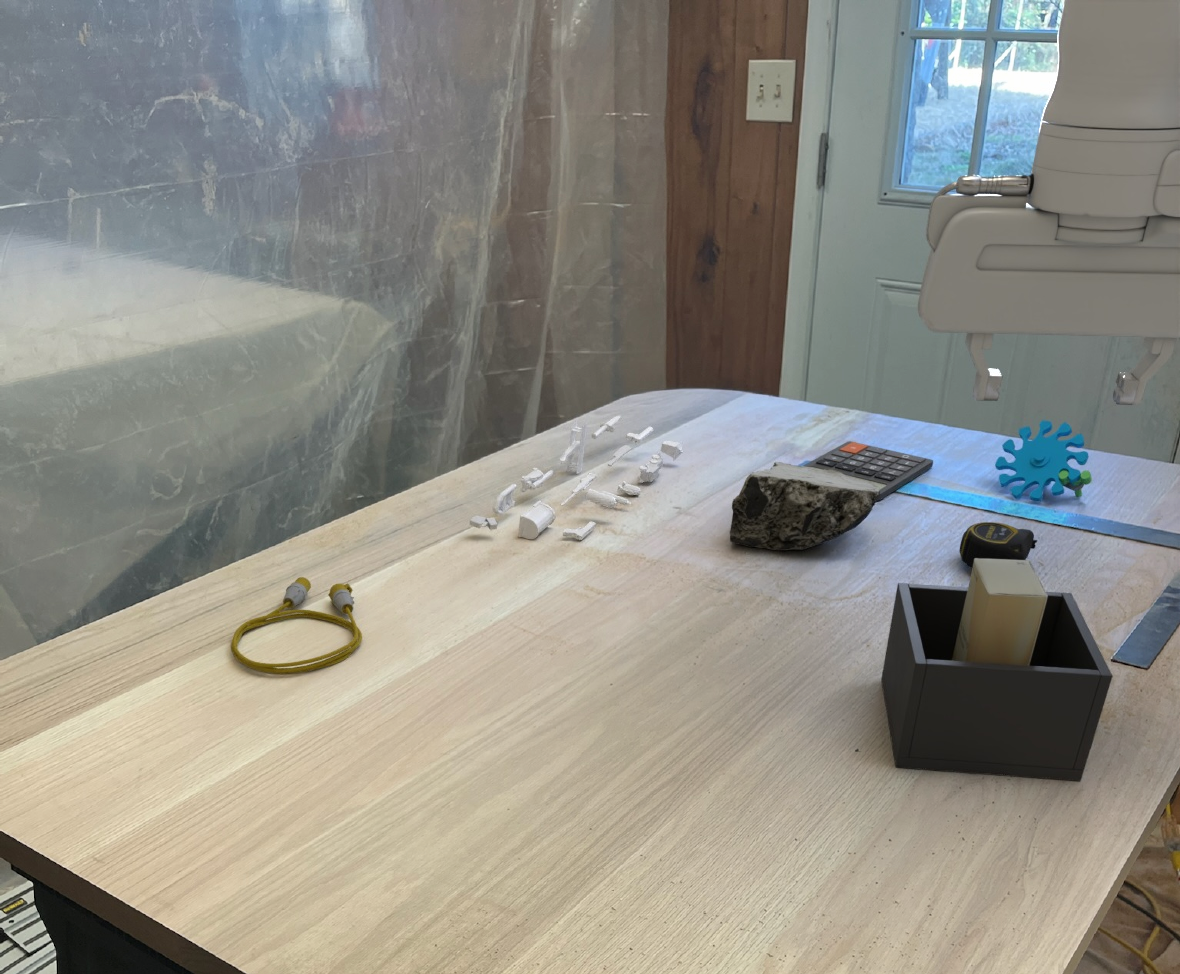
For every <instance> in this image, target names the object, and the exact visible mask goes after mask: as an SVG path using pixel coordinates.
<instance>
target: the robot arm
mask: <svg viewBox="0 0 1180 974" xmlns="http://www.w3.org/2000/svg"><path fill="white" fill-rule="evenodd" d="M1056 42H1057V53H1058V55H1057V56H1058V64H1057V72H1056V77H1055V82H1054V85H1053V88H1052V92H1051V93H1050V95H1049V98H1048V100H1047V102H1046V105H1045V107H1044V109H1043V111H1042V115H1041V121H1040V124H1039V125H1040V126H1039V132H1038V137H1037V141H1036V142H1037V143H1036V148H1035V153H1034V158H1033V162H1032V167H1031V174H1029V175H1026V174H1019V175H1018V174H1017V175H1013V174H1010V175H1009V174H1008V175H1007V174H1006V175H1005V174H1004V175H997V176H995V175H994V176H981V175H979V174H967V175H961V176H959V177H958V178H957V181H954V182H951V183H949V184H947V185H944V187H942V188H940V190H939V191H937V193H936V194H935V195H934V197H933V199H932V200H931V203H930V205H929V209H928V216H927V221H926V222H927V223H926V230H925V234H926V235H925V237H926V241H927V244H928V246H929V247H930V252H929V256H928V259H927V262H926V265H925V269H924V273H923V276H922V282H921V286H920V290H919V295H918V300H917V301H918V302H917V312H918V317H919V318H920V320H921V321H922V323H923V324H924V325H925V327H926V328H927V329H928V330H929V331H930V332H932V333H940V334H941V333H947V334H966V335H965V340H964V341H965V342H964V343H965V346H966V348H967V351H968V353H969V356H970V358H971V361H972V363H973V366H974V369H975V370H976V373H975V378H974V383H973V390H972V394H973V395H972V397H973V398H974V400H975V401H977V402H978V401H979V402H985V401H986V402H998V400H999V397H1000V395H1001V394H1000V391H999V389H1000V388H1001V387H1002V384H1003V377H1004V376H1003V374H1002V373H1001V371H1000V369H999V368H997V369H996V368H989V366H988V363H987V361H986V359H985V356H984V353H983V351H990V350H991V349H992V345H993V341H994V335H1029V336H1030V335H1031V336H1073V337H1074V336H1077V337H1115V338H1117V337H1118V338H1119V337H1120V338H1143V341H1142V346H1143V347H1144V348H1145V349H1146V350H1147V351H1146V353H1145V354H1144V355H1143V356H1142V358H1140V360H1139V361H1138V363H1137V364H1136V365H1135V366H1134V367H1133V369H1132V370H1131V371H1130V372H1118V373H1117V377H1116V380H1115V383H1116V387H1115V388H1114V389H1113V393H1112V400H1113V402H1115V404H1116V405H1118V406H1121V405H1122V406H1140V405H1141V404H1142V401H1143V398H1144V394H1145V391H1146V387H1147V383H1148V381H1150V380H1151V379H1152V378H1153V377H1154V376H1155V375H1156V374H1157V373H1158V372H1159V370H1160V369H1162V367H1163V366H1164V364H1166V363H1167V361H1168V360H1169V359H1170V358H1171V357H1172V356H1173V353H1174V351H1175V346H1176V343H1177V339H1180V0H1064V1H1063V5H1062V11H1061V17H1060V21H1059V27H1058V32H1057V41H1056ZM954 190H956V191H955V192H956V193H955V194H954V193H949V192H951V191H954Z"/></svg>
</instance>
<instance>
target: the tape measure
mask: <svg viewBox="0 0 1180 974" xmlns="http://www.w3.org/2000/svg"><path fill="white" fill-rule="evenodd" d="M1037 542H1038V540H1037V539H1035V533H1034V532H1033V531H1032V530H1030V529H1026V528H1017V527H1014V526H1012V525H1009V524H1007V523H1002V522H996V521H995V522H994V521H984V522H977V523H974V524H972V525H970V526H969V527H967V529H966V530H965V531H964V532H963V534H962V537H961V540H960V544H959V550H958V553H959V555H960V560H961V561H962V563H964V564H965V565H966V566H967V567H969V568H970V569H972V568H973V563H974V559H975V558H980V559H981V558H982V559H1007V560H1028V559H1027V558H1028V556H1029V555H1030V552H1031V550H1035V548H1036V543H1037Z"/></svg>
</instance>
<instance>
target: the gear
mask: <svg viewBox="0 0 1180 974" xmlns="http://www.w3.org/2000/svg"><path fill="white" fill-rule="evenodd" d="M1052 430H1053V423H1052V422H1051V421H1049V420H1041V421H1040V422H1039V430H1038V433H1037V434H1036V436H1035V437H1034V439H1032V440H1030V439H1029V438H1030V437H1031V436H1032V430H1031V427H1030V426H1028V425H1027V426H1023V427H1021V428H1019V429H1018V435H1019V438H1020V439H1021V440H1022V446H1021V448H1019V449H1015V448H1016V445H1015V441H1014V440H1013V439H1011V438H1009V439H1007V440H1006V441H1005V442H1003V443H1002V444H1001V446H1002V450H1003V452H1004V453H1007V454H1010V455H1012V456H1013V457H1014V460H1013V461H1012V462H1008V460H1007V459H1006V457H1004V456H998V457H997V459H996V461H995V464H994V466H995V469H996V470H997V471H1003V470H1010V471H1013V472H1015V473H1014V474H1012V475H1010V474H1007V473H1000V474H999V475H998V481H999V484H1000V487H1001V488H1006V487H1007V486H1009V485H1010V484H1012V483H1015V482H1024V483H1022V484H1020V485H1013V486H1012V487H1011V488H1010V489H1009V490H1010V493H1011V495H1012V497H1013V498H1014V499H1016V500H1019V499H1021V498H1022V497H1023V495H1024V493H1025V492H1026V491H1027V490H1028V489H1030V488H1031V487H1033V486H1036V485H1037V487H1036V488H1035V489H1032V490H1031V491H1030V493H1029V498H1030V500H1031V501H1033V502H1037V503H1038V502H1040V503H1041V501H1042V500H1043V498H1044V496H1043V495H1044V493H1043V492H1044V490H1045V488H1046V487H1048V486H1051V484H1052V482H1054V483H1053V485H1052V486H1051V488H1050V492H1051V495H1052V496H1053V497H1058V496H1061V495H1064V494H1065V489H1066V488H1067V489H1069V490H1071V491H1074V495H1075V497H1076V498H1081V497H1082V496H1083V490H1082V489H1083V488H1084V486H1085V485H1090V484H1091V483H1092V480H1093V479H1092V474H1091V471H1089V470H1083V471H1082V472H1081V471H1080V470H1079V469H1076V468H1073V467H1071V466H1070V464H1069V463H1068V462H1069V461H1070V460H1075V461H1076V463H1077V465H1080V466H1085V465H1086V464H1087V462H1088V460H1089V457H1090V456H1089V452H1088V451H1085V450H1082V451H1071V450H1069V449H1068V448H1069V447H1074V448H1077V449H1081V448H1083V447H1085V440H1084V436H1083V433H1078V434H1075V435H1074V436H1073V437H1071V438H1069V439H1063V440H1059V438H1061V437H1069V436H1070V435H1071V434H1072V433H1073V430H1072V426H1071V425H1070V424H1069V423H1067V422H1066V421H1065V422H1063V423H1061V424H1060V426H1059V427H1058V429H1057V430H1056V431H1055V432H1054V433H1052V434H1050V435H1048V436H1045V435H1047V434H1048V433H1050V432H1051V431H1052ZM1064 487H1065V488H1064Z"/></svg>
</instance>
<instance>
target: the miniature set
mask: <svg viewBox="0 0 1180 974" xmlns="http://www.w3.org/2000/svg"><path fill="white" fill-rule="evenodd" d="M621 417H622V415H621V414H620V415H615V416H613V417H612V418H611V419H609V420H608V421H607V422H606V423H600V425H599V428H598V429H596V430H595V432H593V433H592V434H591V439H593V440H596V439H597V438H598V437H600V436H601V435H602V434H604V432H610V433H614V432H615V426H614V425H615V424H616V423H618V422H619V420H620V418H621ZM587 430H588V423H587V422H585V423H584V424H583V425H582V427H579V426H578V421H577V420H575V421H574V422H573V423H572V424H571V428H570V436H569V437H570V438H569V445H568V447H567V448H566V449H565V450H564V451H563V453H562V454H561V456H560V457H559V458H558V459H559V461H560V464H561V465H562V464H564V463H565V461H566V460H567V463H566V473H568V472H571V471H572V469H576V473H575V474H576V475H578V474H581V473H582V470H583V464H584V463H583V461H584V454H585V447H586V439H587ZM653 432H654V428H653V427H652V426H647V427H646V428H645V429H644V430H643V431H641V432H640V433H633V432H628V433H627V434H626V436H625V439H626V440H627V441H632V442H633V444H639V443H641V442H642V441H644V439H646V438H647V437H648V436H649V435H651V433H653ZM577 433H580V439H579V440H576V438H577V437H576V436H577ZM631 450H633V446H631V445H627V444H624V445H622V446H621V447H620V448H618V449H617V450H616V451H615V452H614V453H613V454H612V455H611V456H612V457H614V458H613V459H611V461H609V462H608V463H607V466H608V467H612V466H613V465H614V464H616V462H617V461H619V460H620V459H621V458H623V456H625V455H626V454H627V453H628V452H630V451H631ZM577 451H578V456H577V463H575V462H573V461H574V454H575V453H577ZM661 453H663V454H665V455H666V456H669V457H671V458H673V459H672V460H673V461H676V459H677V458H679V457H680V455H681V454H683V453H684V451H683V440H681V441H679V442H678V441H673V440H664V441H663V442H662V443H661V445H660V452H657V454H652V456H651V459H650V460H648V462H646V463H645V464H644V465H640V466H639V472H640V475H639V476H638V477H637V482H638V483H641V484H644V483H652V482H653V481H655V480H656V479H657V478H658V477H659V471H660V470H661V469H662V468H663V466H664V465H665V463H664V460H663V459H664V458H663V457H662V456H661ZM554 474H555V473H554V471H553V469H549V470H548V471H547V472H545V473H543V472H542V470H540V469H539V468H538V467H532V471H531V472H529V473H528V474H527V475H522V476H521V480H520V481H521V488H520V492H522V493H526V491H528V490H533V491H534V490H536V489H540V487H543V484H544V482H546V481H547V480H548V479H550V478H551V477H552V476H554ZM596 478H597V474H595V473H592V472H587V476H585V477H583V478H581V479H579V483H578V484H577V486H576V487H575V488H574V489H573V490H572V491H571V495H570V496H568V497H567V498H566V499H565V500H564V501H562V502H561V503H560V507H563V506H565V504H566V503H569V501H570V500H571V499H573V497H575V496H577V495H578V494H579V493H580V492H581V491H586V489H587V488H588V487H590V486H591V485H592V483H591V482H593V481H594V480H595V479H596ZM643 482H644V483H643ZM516 488H517V484H516V483H512V484H510V485H509V486H507V487H506V488H505V489H503V491H501V492H500V493H498V495H497V497H496V499H495V500H494V503H493V506H492V511H493V513H494V514H495V515H496V516H500V517H501V516H502V515H504V514H506V512H508V511H509V510H510V509H512V508H513V507H514V506H515V504H516V501H515V500H513V499H514V498H513V496H514V490H516ZM616 492H617V493H620V492H621V493H624V494H627V495H629V496H633V495H639V496H640V495H641V492H642V490H641V488H640V487H638V486H637V485H633V484H631V483H628V482H627V481H626V480H623V481H622V484H619V485H618V486H617V491H616ZM585 500H586V501H589V502H591V503H594V504H597V505H599V506H602V507H606V508H609V509H612V508H614V507H615V506H617V505H618V504H621V505H624V506H627V505H629V506H631V505H632V501H630V500H629V499H627V498H625V497H622V496H619V495H616V494H614V493H610V492H608V491H605V490H602V491H598V490H594V489H591V488H589V489H588V490H587V491H586V494H585ZM555 520H556V513H555V510H554V508H552V507H551V506H550V505H549V504H547V503H544V502H542V500H537V501H536V503H534V504H533V505H532V506H531V507H530V508H529V509H528V510H525V511H524V512H523V513H522V514H521V515H520V516H519V524H518V525H519V526H518V535H517V536H518V538H524V539H527V540H535V539H536V538H537V537H538V536H539V535H540V534H541V533H542V532H543V531H544V530H545V529H546V528H547V527H549V526H551V525H552V524H553V523H554V522H555ZM596 525H597V523H596V522H594V521H589V522H588V523H587V524H586V525H585V526H581V527H580V526H579V527H577V528H576V529H573V528H568V527H566V528H564V530H563V531H562V537H566V538H575V539H576V540H579V541H582V540H583V539H584V538H585V537H586V536H587V535H588V534H589V533H591V532H592V531H593V530H594V529H595V528H596ZM469 526H471V527H474V528H475V529H476V528H477V529H481V528H488V529H489V530H490V531H492V530H497V529H498V523H497V521H496V519H495V517H484V516H481V515H478V514H475V515H474V516H473V517H471V519H469Z"/></svg>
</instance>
